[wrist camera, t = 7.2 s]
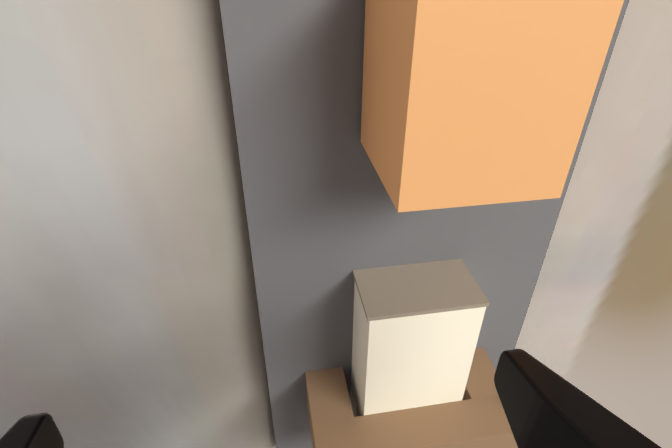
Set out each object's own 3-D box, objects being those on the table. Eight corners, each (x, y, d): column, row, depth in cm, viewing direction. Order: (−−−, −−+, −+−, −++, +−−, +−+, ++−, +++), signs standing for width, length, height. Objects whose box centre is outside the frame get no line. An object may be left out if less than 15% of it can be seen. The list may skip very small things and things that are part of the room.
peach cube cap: (486, 133, 18) (560, 197, 13) (360, 141, 17) (398, 212, 13) (522, -47, 14) (634, -34, 10) (367, -46, 14) (420, -31, 9)
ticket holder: (484, 407, 31) (530, 500, 26) (276, 439, 29) (282, 547, 24) (665, -185, 14) (897, -243, 9) (195, -204, 12) (161, -292, 7)
